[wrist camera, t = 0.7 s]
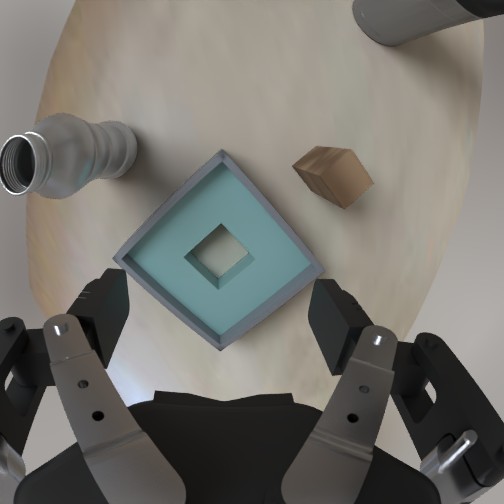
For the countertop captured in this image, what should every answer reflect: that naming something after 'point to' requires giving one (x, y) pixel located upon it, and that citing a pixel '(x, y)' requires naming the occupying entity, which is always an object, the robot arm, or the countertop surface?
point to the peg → (334, 174)
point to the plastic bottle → (65, 156)
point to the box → (197, 275)
